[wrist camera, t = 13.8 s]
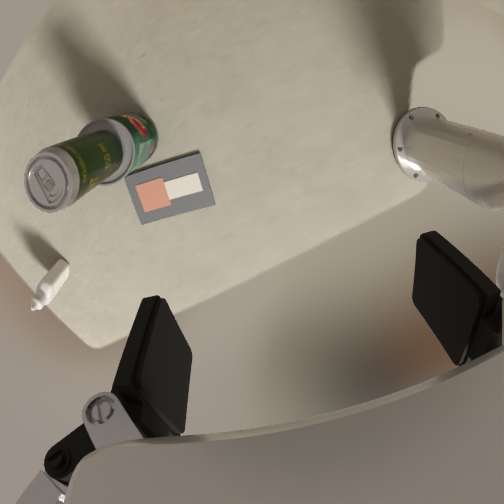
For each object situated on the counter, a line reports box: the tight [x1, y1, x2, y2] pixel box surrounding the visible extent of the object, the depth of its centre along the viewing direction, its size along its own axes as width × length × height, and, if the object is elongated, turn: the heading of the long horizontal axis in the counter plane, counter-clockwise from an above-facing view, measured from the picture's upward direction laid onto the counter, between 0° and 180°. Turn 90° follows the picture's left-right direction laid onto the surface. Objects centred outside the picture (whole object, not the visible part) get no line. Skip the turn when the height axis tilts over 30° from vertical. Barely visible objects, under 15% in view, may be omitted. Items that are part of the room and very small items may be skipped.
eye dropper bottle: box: [31, 259, 70, 311], centre depth 43 cm, size 4×6×12 cm
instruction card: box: [124, 153, 215, 225], centre depth 42 cm, size 12×8×1 cm, turn 103°
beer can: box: [24, 130, 123, 213], centre depth 24 cm, size 5×5×12 cm
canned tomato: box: [77, 113, 159, 186], centre depth 34 cm, size 8×8×11 cm
